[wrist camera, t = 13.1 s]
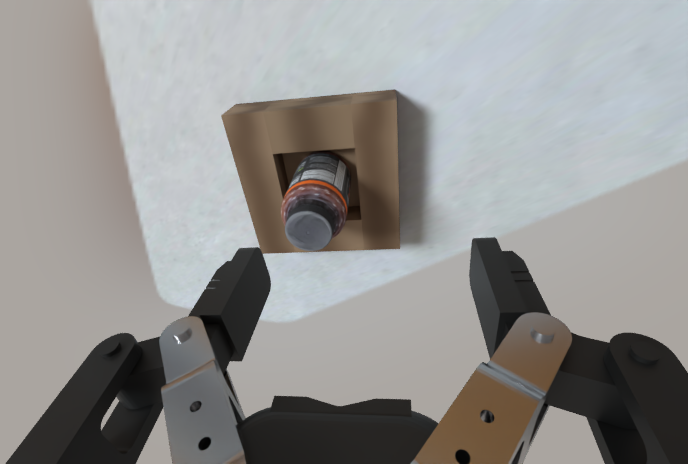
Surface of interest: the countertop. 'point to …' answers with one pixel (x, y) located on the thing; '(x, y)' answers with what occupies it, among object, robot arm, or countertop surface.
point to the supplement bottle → (316, 201)
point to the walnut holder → (311, 136)
